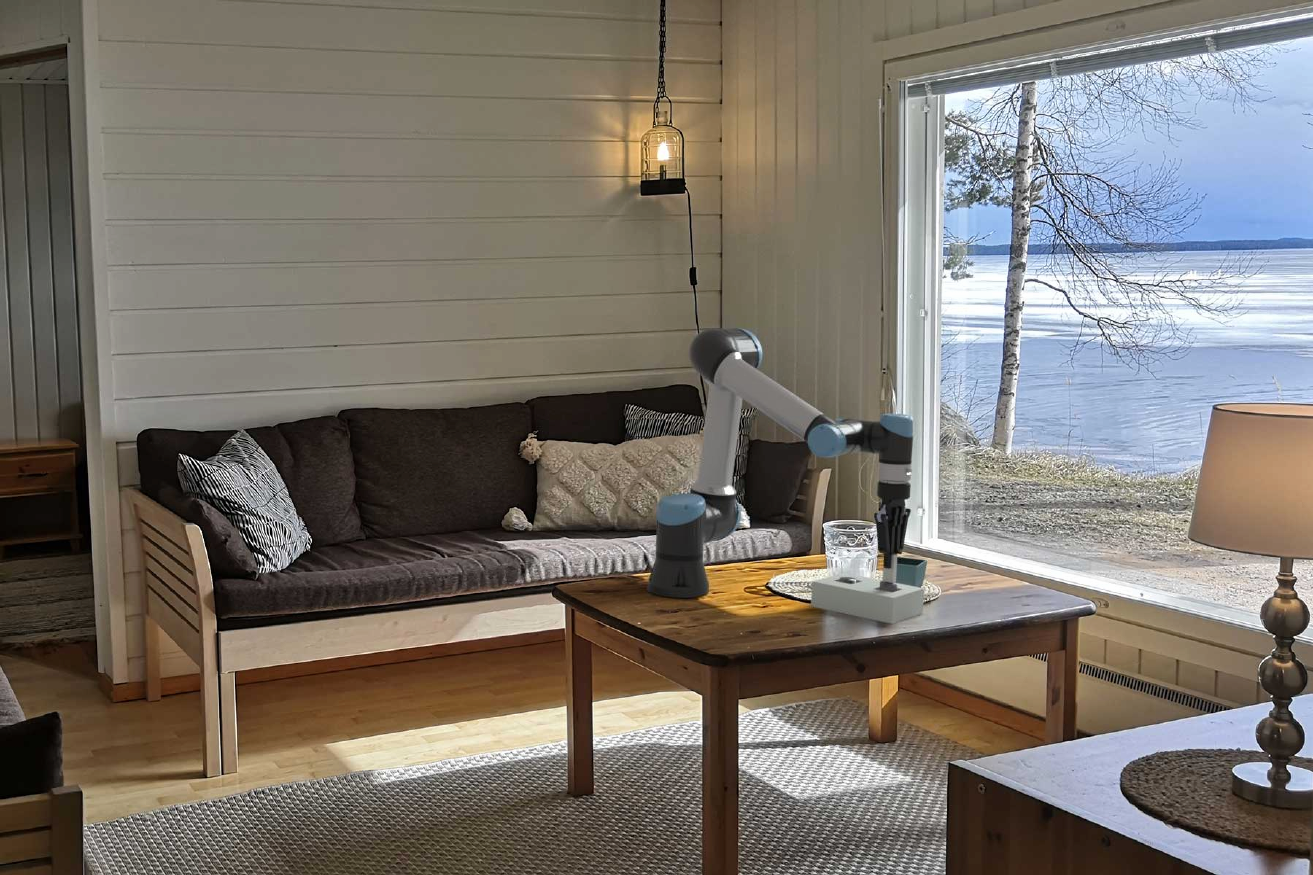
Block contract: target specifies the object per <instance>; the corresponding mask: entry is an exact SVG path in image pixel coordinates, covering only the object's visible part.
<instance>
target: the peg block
mask: <svg viewBox="0 0 1313 875" xmlns="http://www.w3.org/2000/svg"><path fill="white" fill-rule="evenodd" d="M841 577H852V578H855V579H856V583H854V584H847V583H842V582H839V579H840V578H841ZM880 581H883V579H877V578H873V577H868V576H863V575H858V574H857V575H856V574H851V573H847V572H842V573H838V574H834V575H829V576H827V577H824V578H820V579H819V578H818V579H816V580H813V581H812V582H811V599H810V600H811V601H810V607H814V608H817V609H818V608H819V609H822V610H826V611H827V610H828V611H831V612H835V613H836V612H837V613H842V614H845V615H850V616H853V617H859V618H864V619H869V620H874V621H878V622H881V623H886V624H892V625H893V624H895V623H896V624H897V623H900V622H902V621H905V620H907V619H911V618H913V617H916V616H918V615H922V614H923V613H924V601H925V600H924V598H925V588H924V587H921V588H919V587H914V586H909V585H904V584H899V583H897V591H896V592H887V591H882V590H880Z"/></svg>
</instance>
